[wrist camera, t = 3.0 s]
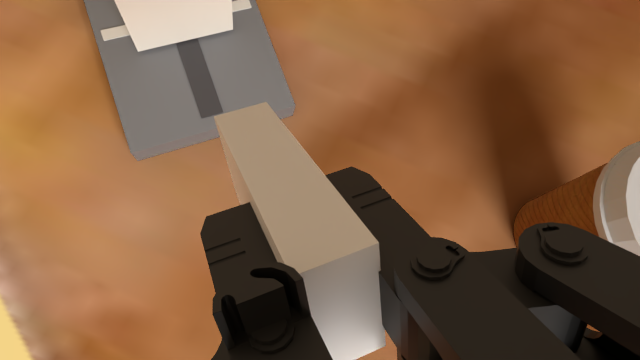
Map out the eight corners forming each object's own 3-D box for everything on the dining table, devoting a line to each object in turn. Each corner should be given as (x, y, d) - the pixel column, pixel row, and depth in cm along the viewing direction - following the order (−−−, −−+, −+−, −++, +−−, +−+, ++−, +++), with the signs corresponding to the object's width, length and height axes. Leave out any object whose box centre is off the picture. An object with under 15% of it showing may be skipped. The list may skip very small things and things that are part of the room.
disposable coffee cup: (478, 262, 34) (599, 252, 23) (515, 160, 37) (640, 104, 25) (582, 315, 34) (751, 333, 23) (611, 211, 37) (776, 180, 26)
